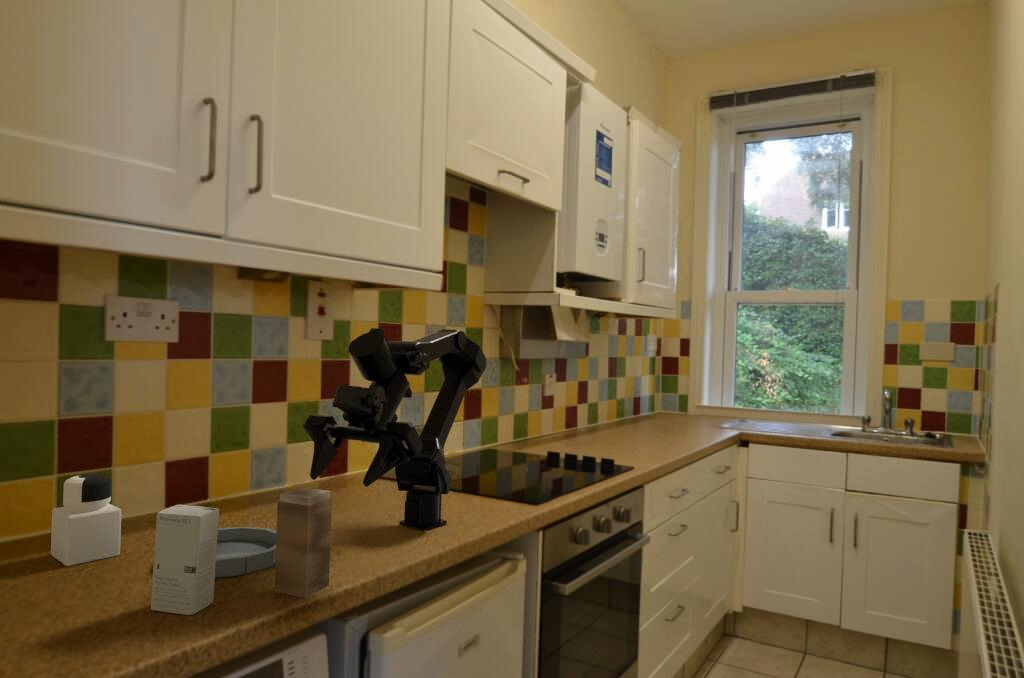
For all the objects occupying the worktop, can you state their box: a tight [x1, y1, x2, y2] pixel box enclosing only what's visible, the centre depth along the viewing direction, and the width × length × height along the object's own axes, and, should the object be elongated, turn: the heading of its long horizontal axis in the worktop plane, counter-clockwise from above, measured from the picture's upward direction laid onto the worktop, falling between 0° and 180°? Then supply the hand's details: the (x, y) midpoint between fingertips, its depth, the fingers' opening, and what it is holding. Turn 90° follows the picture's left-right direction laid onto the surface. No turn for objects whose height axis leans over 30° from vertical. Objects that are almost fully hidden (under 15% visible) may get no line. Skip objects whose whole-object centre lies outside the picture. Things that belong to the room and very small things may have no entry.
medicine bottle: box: [50, 473, 122, 567], centre depth 98 cm, size 7×7×12 cm
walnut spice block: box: [274, 486, 333, 599], centre depth 88 cm, size 5×5×13 cm
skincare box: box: [150, 504, 220, 616], centre depth 81 cm, size 6×4×12 cm
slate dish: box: [215, 526, 277, 579], centre depth 98 cm, size 16×16×2 cm
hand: (338, 481), depth 95 cm, fingers open, 9 cm apart
